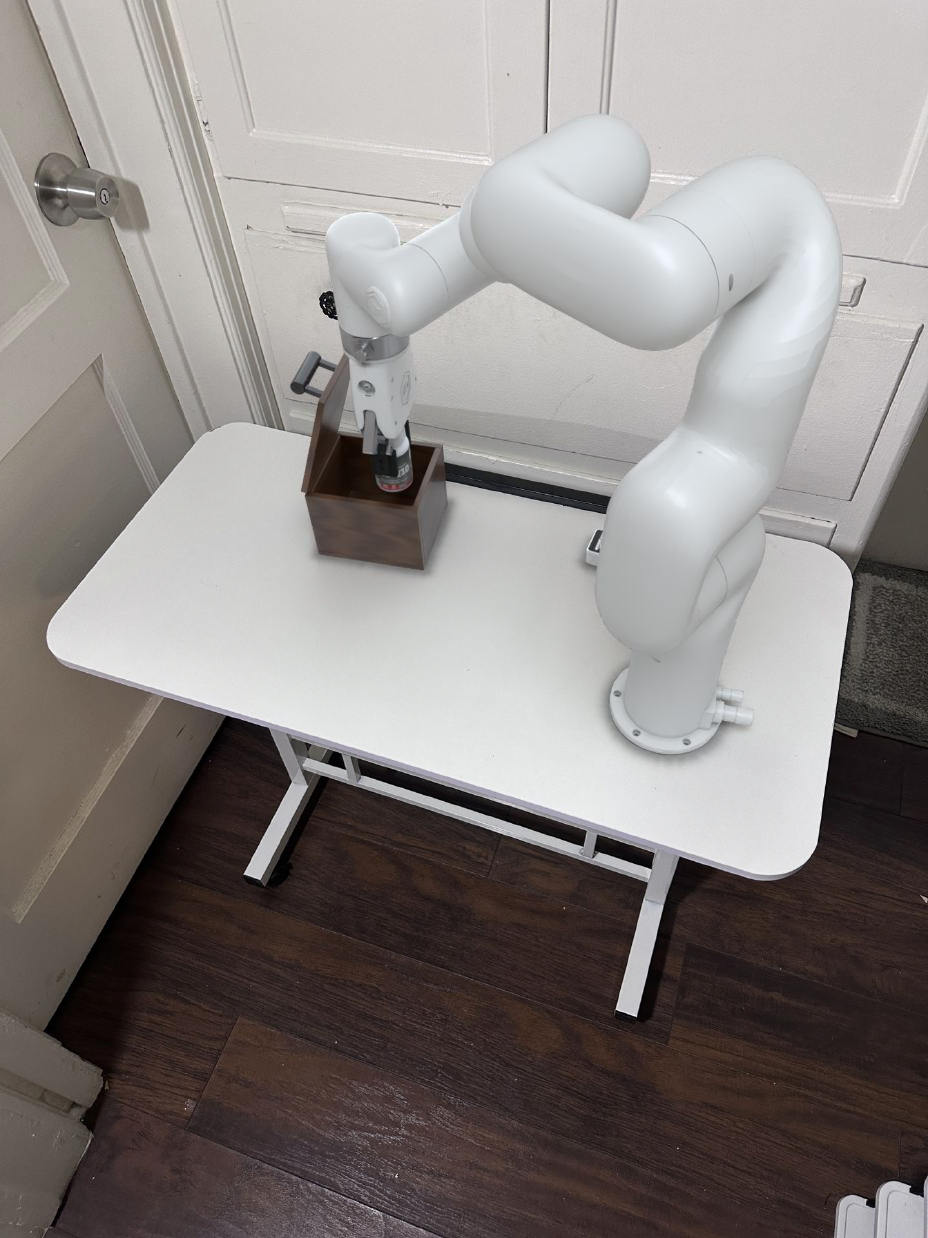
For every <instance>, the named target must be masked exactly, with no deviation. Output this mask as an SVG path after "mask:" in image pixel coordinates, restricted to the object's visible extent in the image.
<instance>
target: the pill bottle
mask: <svg viewBox="0 0 928 1238" xmlns="http://www.w3.org/2000/svg"><path fill="white" fill-rule="evenodd" d="M392 440H393V449H394V450H396V454H397V462H398V470H399V474H398V476H397V477H390V476H383V475H376V474H375V476H376V482H377V484H378V486H379V487H380V488H381V489H383V490H385V491H388V492H399V491H402V490H404V489H406V488H407V487H409V486H410V484H411V483H412V480H413V472H412V463H411V455H410V446H409V440H408V438H407V437H406V433H405V428H404V427H403V429H402V431H401V433H400V435H399V436H398V437H397V438H395V439H392ZM377 443H383V444H385V436H378V435H377Z"/></svg>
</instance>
